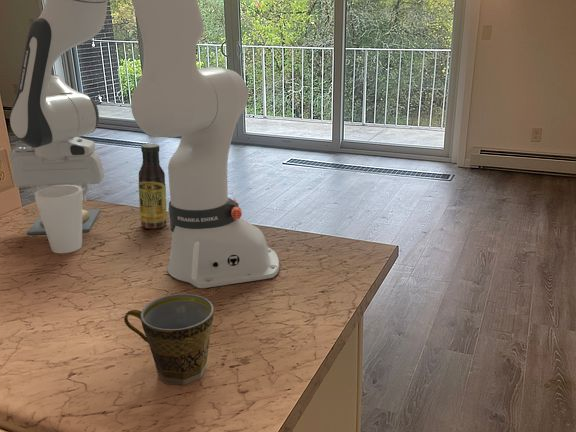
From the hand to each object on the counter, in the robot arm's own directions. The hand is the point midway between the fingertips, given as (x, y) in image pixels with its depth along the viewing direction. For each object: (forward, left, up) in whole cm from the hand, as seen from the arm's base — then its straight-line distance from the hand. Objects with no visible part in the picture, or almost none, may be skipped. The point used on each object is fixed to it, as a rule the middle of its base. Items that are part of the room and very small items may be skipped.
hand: (62, 201), depth 135 cm
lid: (0, 0, -5) cm, 5 cm away
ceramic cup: (-30, +64, -6) cm, 71 cm away
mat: (0, 0, -5) cm, 5 cm away
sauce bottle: (-22, +5, -6) cm, 23 cm away
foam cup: (-4, +16, -6) cm, 17 cm away
